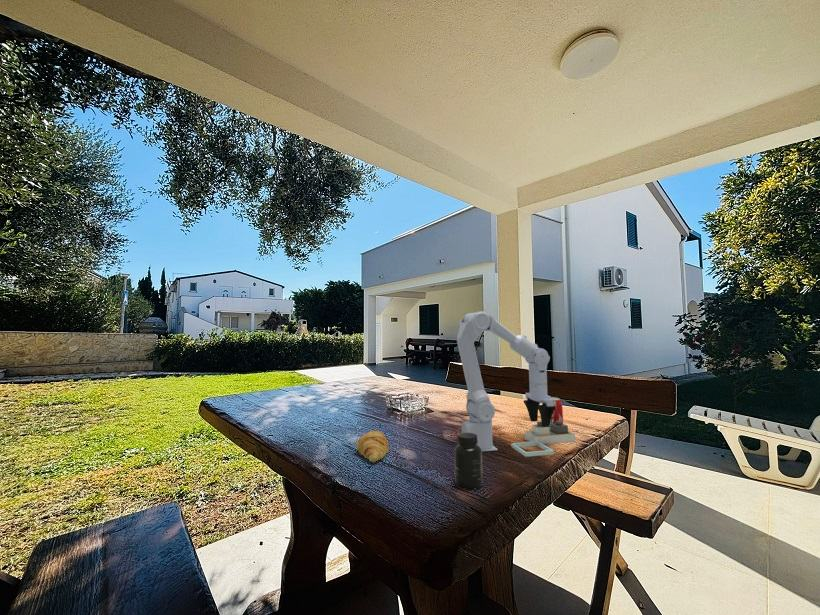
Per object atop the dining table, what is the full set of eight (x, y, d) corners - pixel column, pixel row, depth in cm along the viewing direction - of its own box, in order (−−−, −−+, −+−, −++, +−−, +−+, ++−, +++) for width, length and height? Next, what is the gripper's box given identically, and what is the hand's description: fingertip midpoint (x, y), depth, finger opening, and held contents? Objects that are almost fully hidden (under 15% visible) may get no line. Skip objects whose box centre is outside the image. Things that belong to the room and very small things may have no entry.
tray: (525, 458, 106) (525, 452, 106) (511, 448, 115) (511, 443, 115) (554, 455, 107) (553, 450, 107) (537, 446, 116) (537, 441, 116)
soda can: (566, 433, 130) (565, 400, 130) (547, 433, 130) (545, 400, 131) (559, 428, 137) (557, 396, 137) (540, 428, 137) (539, 396, 138)
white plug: (538, 442, 118) (537, 424, 119) (532, 439, 122) (531, 421, 123) (549, 442, 119) (548, 423, 119) (543, 438, 123) (542, 420, 123)
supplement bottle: (449, 484, 89) (448, 435, 90) (466, 476, 94) (464, 429, 94) (472, 493, 84) (470, 440, 85) (488, 483, 89) (486, 434, 90)
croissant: (384, 476, 103) (396, 451, 104) (353, 462, 102) (366, 436, 103) (379, 451, 124) (389, 430, 125) (353, 439, 123) (363, 417, 124)
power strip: (535, 446, 116) (534, 436, 116) (524, 440, 123) (524, 430, 123) (575, 442, 119) (574, 433, 119) (562, 436, 126) (562, 427, 126)
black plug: (557, 441, 119) (556, 423, 120) (550, 437, 123) (550, 420, 124) (568, 440, 120) (567, 422, 120) (561, 437, 124) (560, 419, 124)
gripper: (561, 385, 115) (563, 428, 114) (537, 380, 130) (539, 418, 129) (541, 386, 114) (542, 430, 113) (519, 380, 128) (521, 419, 127)
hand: (539, 423), depth 121 cm, fingers open, 7 cm apart
